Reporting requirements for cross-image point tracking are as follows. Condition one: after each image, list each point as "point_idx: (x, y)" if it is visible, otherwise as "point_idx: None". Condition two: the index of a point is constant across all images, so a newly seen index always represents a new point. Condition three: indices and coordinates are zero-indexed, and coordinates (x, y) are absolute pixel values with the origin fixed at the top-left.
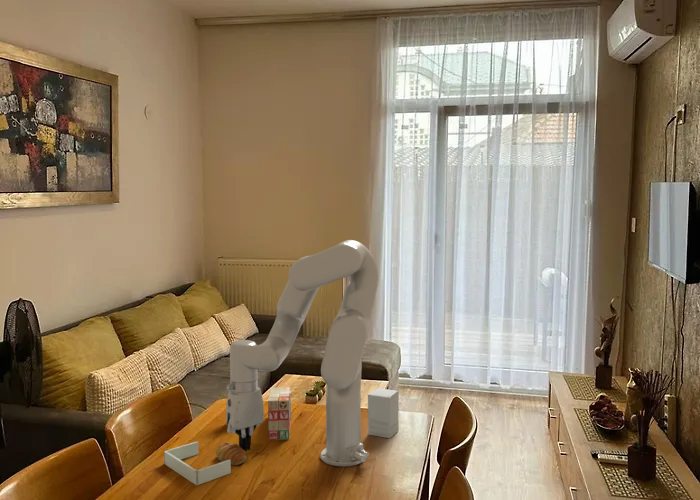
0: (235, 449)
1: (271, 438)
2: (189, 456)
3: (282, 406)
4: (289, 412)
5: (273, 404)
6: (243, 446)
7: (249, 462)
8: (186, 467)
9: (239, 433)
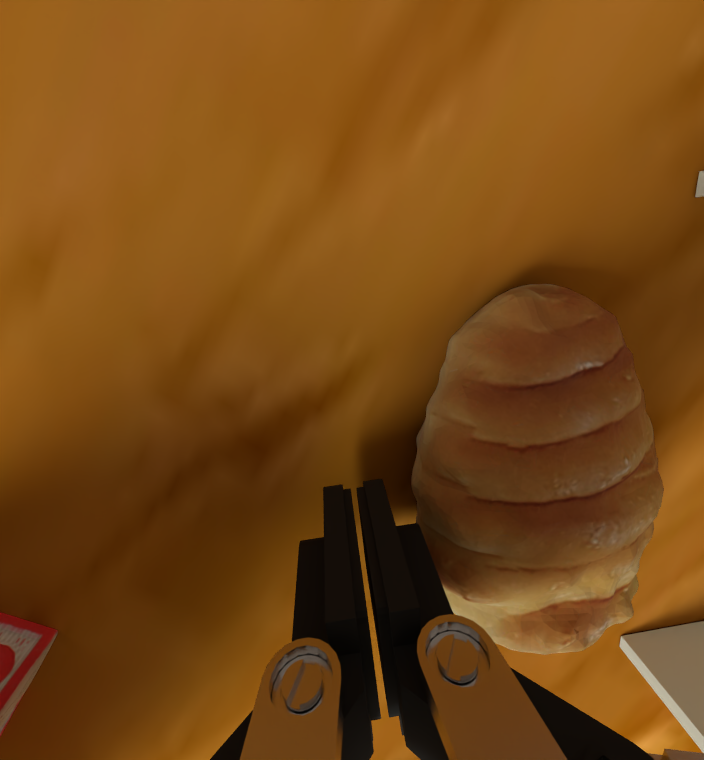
0: (567, 464)
1: (19, 635)
2: (690, 626)
3: None
4: None
5: None
6: (401, 529)
7: (422, 298)
8: None
9: (554, 724)
